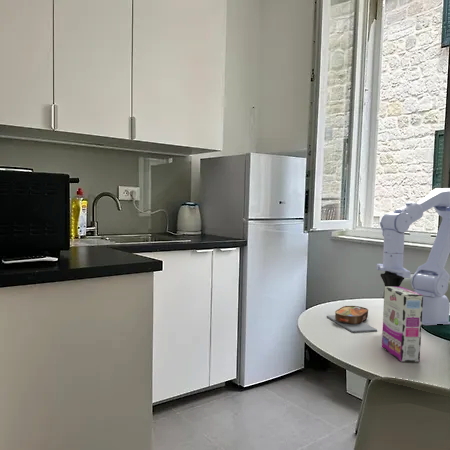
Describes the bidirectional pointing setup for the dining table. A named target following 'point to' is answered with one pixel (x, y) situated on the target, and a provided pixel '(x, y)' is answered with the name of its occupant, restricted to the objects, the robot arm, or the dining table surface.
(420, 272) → the robot arm
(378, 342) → the dining table surface
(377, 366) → the dining table surface
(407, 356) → the candy bar box
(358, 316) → the tin
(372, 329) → the pad
